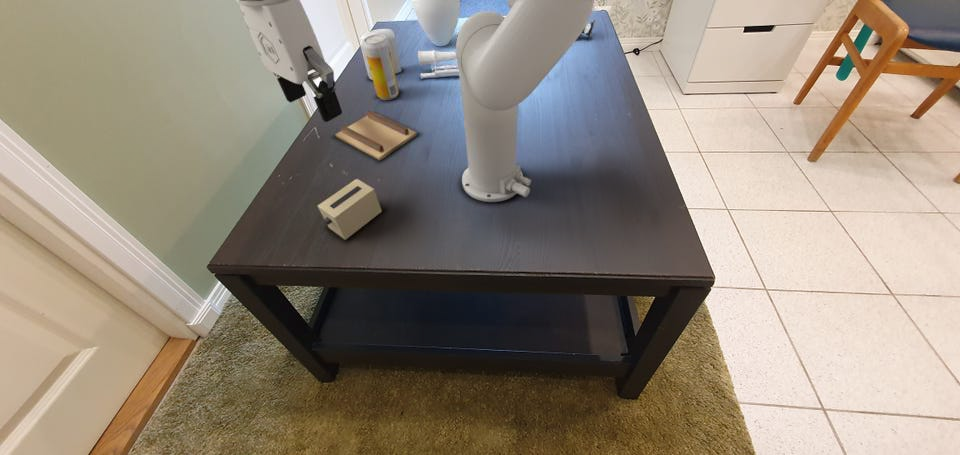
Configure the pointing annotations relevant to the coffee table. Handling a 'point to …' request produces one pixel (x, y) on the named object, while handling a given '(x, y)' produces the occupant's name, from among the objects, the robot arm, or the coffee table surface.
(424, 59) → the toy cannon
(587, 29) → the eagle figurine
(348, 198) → the toaster
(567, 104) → the coffee table surface
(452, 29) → the vase
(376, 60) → the beer can
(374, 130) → the cradle
